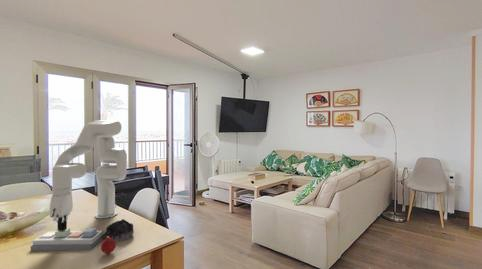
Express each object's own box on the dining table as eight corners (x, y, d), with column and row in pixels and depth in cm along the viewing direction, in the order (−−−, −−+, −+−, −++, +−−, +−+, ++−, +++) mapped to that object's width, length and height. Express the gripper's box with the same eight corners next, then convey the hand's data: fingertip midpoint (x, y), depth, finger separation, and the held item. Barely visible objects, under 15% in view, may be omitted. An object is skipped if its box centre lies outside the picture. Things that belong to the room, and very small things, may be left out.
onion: (118, 250, 114) (118, 233, 113) (112, 257, 108) (111, 239, 108) (105, 251, 113) (104, 233, 113) (98, 257, 108) (98, 239, 107)
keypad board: (50, 238, 126) (50, 230, 126) (104, 237, 127) (104, 229, 127) (30, 250, 113) (30, 241, 113) (90, 249, 114) (90, 240, 114)
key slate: (87, 233, 123) (87, 228, 123) (96, 233, 123) (96, 228, 123) (82, 236, 118) (82, 231, 118) (91, 236, 119) (91, 231, 119)
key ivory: (47, 237, 122) (47, 232, 122) (56, 237, 122) (56, 232, 122) (41, 241, 117) (41, 236, 117) (50, 241, 118) (50, 236, 118)
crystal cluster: (106, 234, 132) (104, 216, 131) (134, 229, 137) (132, 211, 136) (103, 248, 120) (100, 228, 119) (134, 241, 125) (132, 222, 123)
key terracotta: (74, 237, 122) (74, 232, 122) (83, 237, 123) (83, 232, 123) (69, 241, 118) (69, 235, 118) (78, 241, 118) (78, 235, 118)
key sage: (61, 233, 122) (61, 228, 122) (70, 233, 122) (70, 228, 122) (55, 237, 118) (55, 232, 118) (64, 237, 118) (64, 231, 118)
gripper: (64, 187, 127) (64, 224, 127) (42, 195, 112) (42, 236, 112) (79, 187, 127) (79, 224, 127) (60, 195, 112) (59, 236, 112)
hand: (62, 229), depth 119 cm, fingers closed
